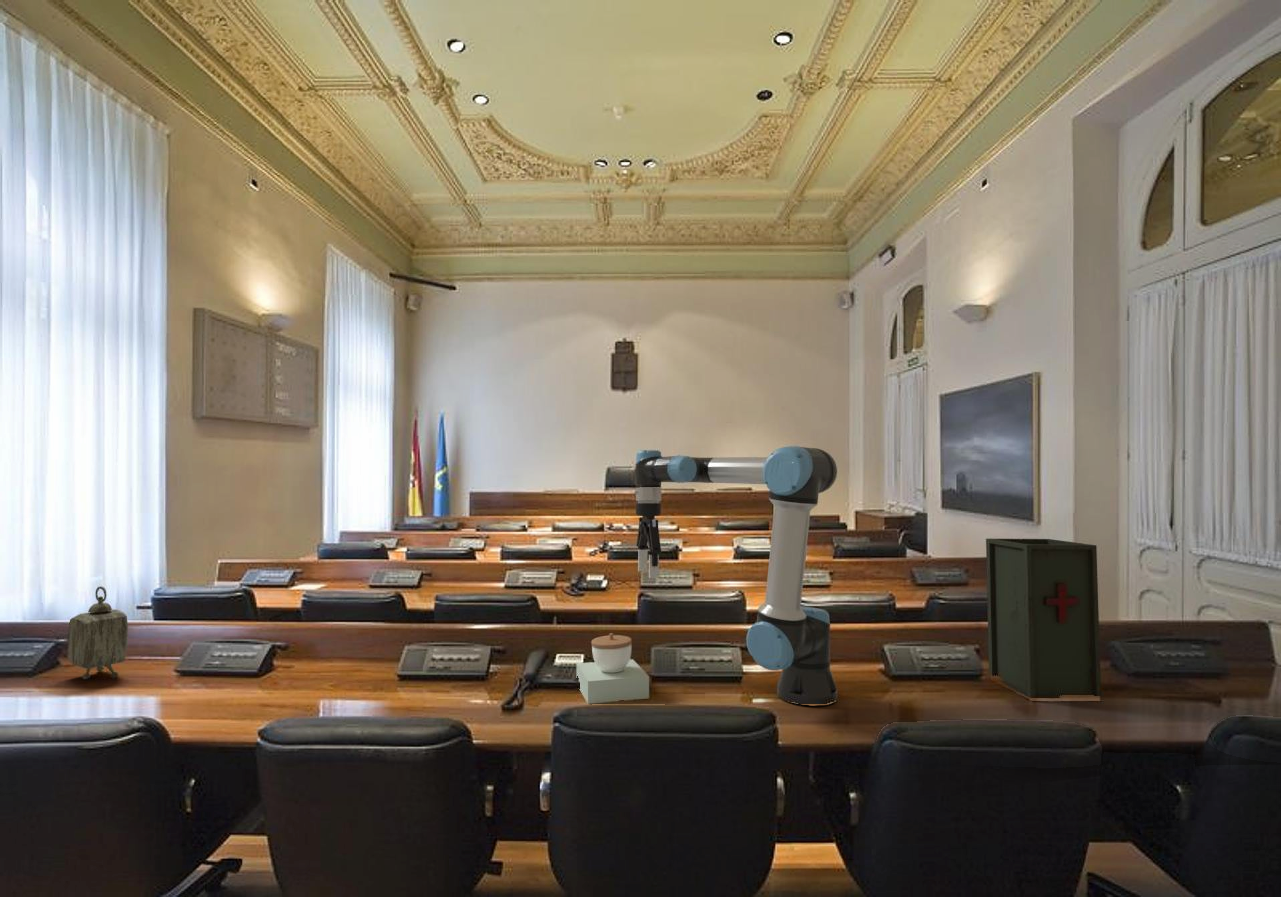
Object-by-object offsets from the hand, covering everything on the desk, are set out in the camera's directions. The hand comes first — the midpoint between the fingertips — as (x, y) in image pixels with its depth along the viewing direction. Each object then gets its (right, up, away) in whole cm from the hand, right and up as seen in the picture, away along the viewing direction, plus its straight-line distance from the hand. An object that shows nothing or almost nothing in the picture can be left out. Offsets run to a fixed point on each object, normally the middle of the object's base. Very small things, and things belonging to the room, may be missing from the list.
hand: (648, 574), depth 185 cm
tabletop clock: (-154, -27, -11) cm, 157 cm away
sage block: (-10, -28, -18) cm, 35 cm away
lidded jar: (-10, -22, -18) cm, 30 cm away
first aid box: (+107, -29, -15) cm, 112 cm away
